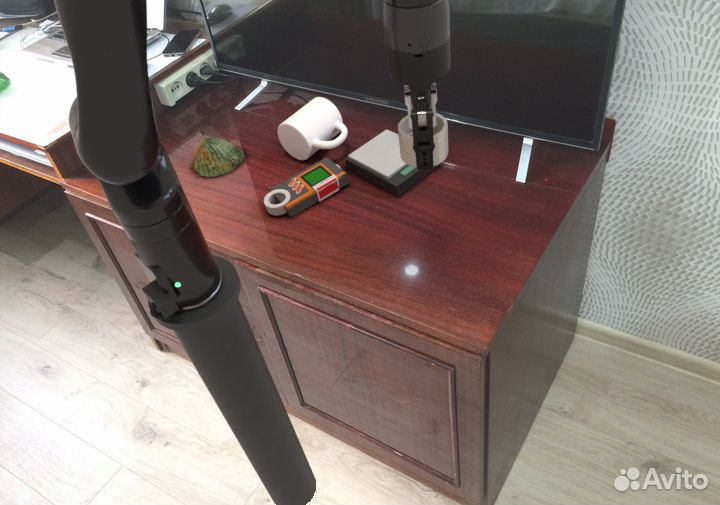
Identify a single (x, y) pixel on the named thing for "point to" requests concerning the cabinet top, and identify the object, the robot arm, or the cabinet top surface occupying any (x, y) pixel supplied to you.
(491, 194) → the cabinet top surface
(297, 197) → the electronic device
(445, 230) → the cabinet top surface
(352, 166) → the scale
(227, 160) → the seashell
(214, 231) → the cabinet top surface
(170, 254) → the robot arm
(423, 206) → the cabinet top surface
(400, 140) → the beige cylindrical cup
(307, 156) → the mug
